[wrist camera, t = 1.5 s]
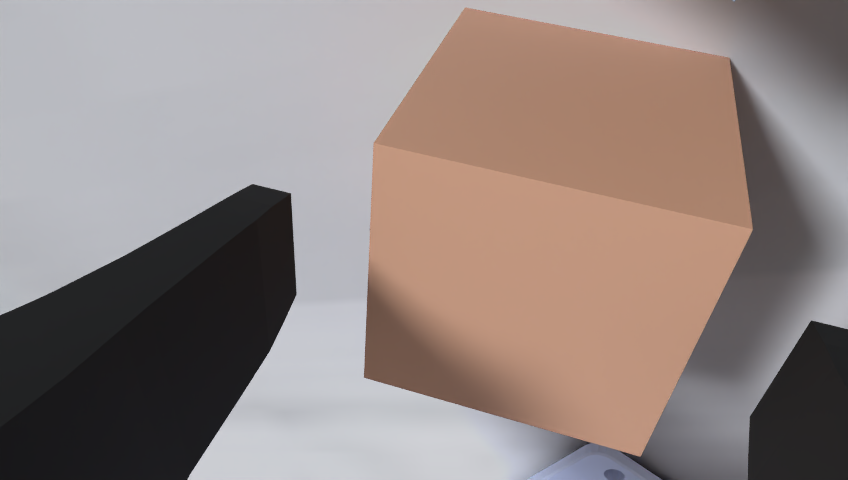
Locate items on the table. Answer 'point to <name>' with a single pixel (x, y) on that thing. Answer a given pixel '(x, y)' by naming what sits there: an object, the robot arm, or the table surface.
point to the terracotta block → (553, 225)
